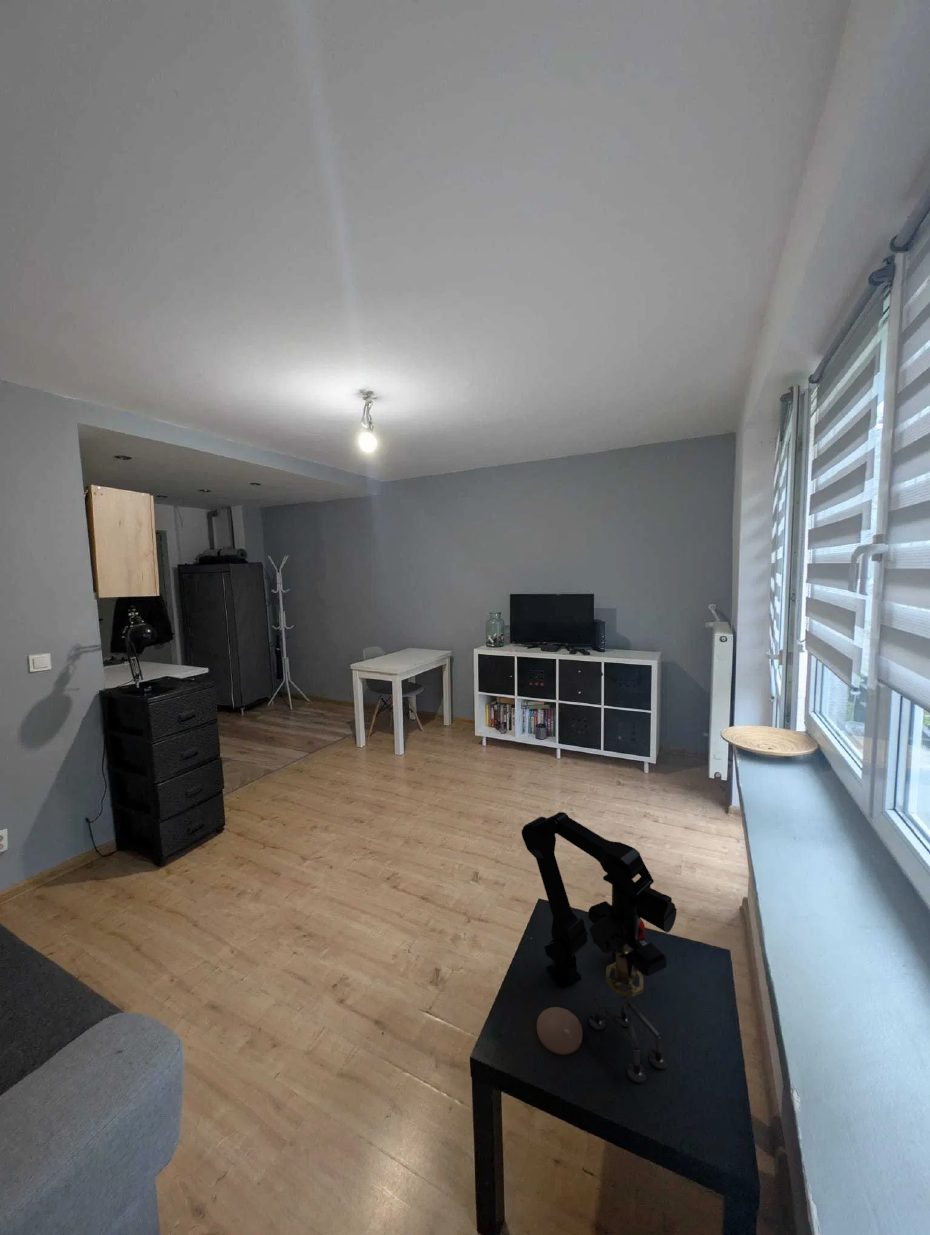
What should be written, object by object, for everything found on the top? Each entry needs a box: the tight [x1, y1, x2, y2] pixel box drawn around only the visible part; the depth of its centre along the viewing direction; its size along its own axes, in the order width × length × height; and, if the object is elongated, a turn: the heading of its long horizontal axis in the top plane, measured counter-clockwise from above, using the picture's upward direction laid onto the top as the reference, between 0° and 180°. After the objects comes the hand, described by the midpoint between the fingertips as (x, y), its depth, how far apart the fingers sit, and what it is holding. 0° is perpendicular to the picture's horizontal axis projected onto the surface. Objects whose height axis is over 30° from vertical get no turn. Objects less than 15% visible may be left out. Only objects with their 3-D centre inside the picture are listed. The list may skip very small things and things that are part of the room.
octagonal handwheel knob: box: [605, 945, 644, 998], centre depth 105 cm, size 8×8×7 cm
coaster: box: [536, 1006, 583, 1056], centre depth 104 cm, size 10×10×1 cm
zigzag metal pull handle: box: [588, 995, 669, 1084], centre depth 101 cm, size 16×10×6 cm, turn 24°
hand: (624, 969), depth 105 cm, fingers closed on octagonal handwheel knob, 4 cm apart
